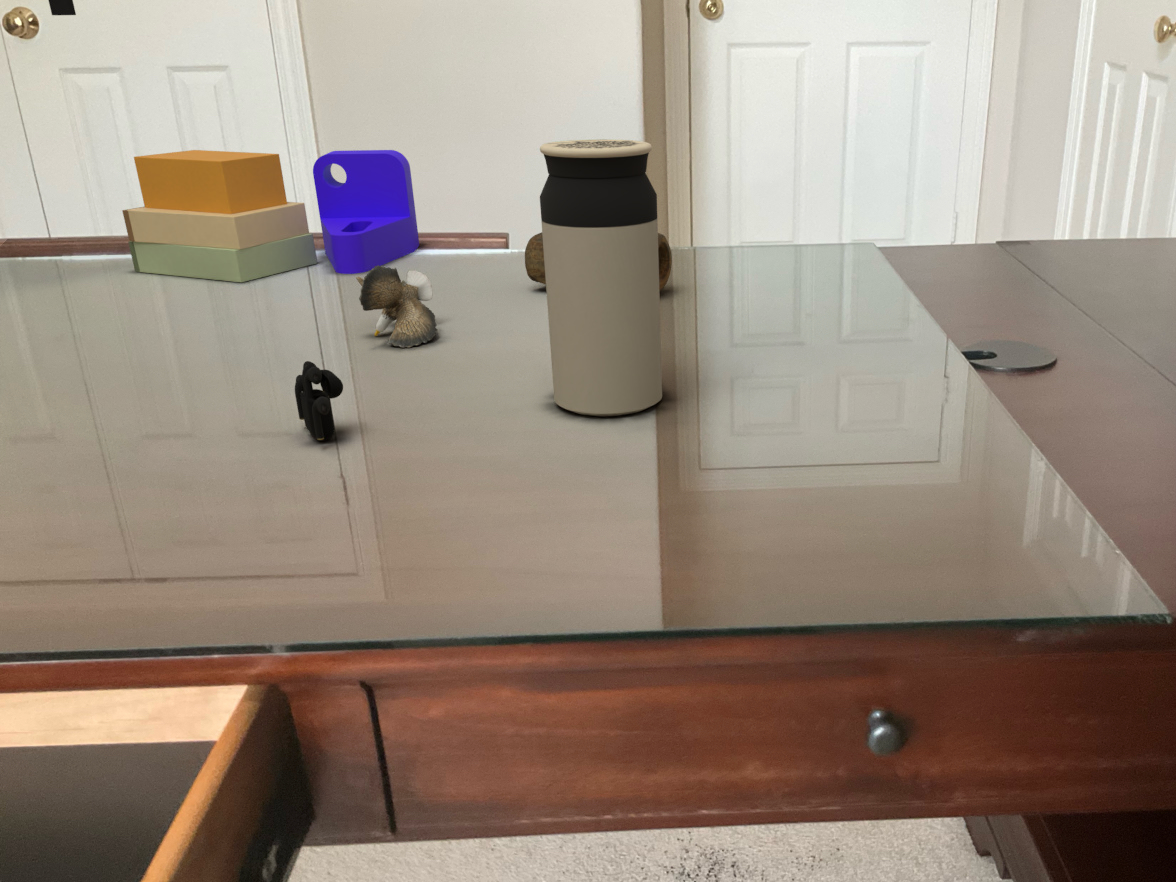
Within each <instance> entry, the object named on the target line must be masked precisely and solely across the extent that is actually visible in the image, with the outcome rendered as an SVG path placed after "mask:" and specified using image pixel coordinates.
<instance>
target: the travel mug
mask: <svg viewBox="0 0 1176 882" xmlns="http://www.w3.org/2000/svg"><path fill="white" fill-rule="evenodd" d="M652 146H653V145H652V144H651V143H649V142H646V141H643V140H633V139H631V140H630V139H605V138H603V139H601V138H600V139H598V138H597V139H573V140H560V141H551V142H546V143H543V144H541V145H540V147H539V151H540V153H541V154H542V155H543V157H544V160H545V164H546V169H547V174H548V176H547V178H546V180H545V183H544V185H543V188H542V190H541V191H540V195H539V205H540V206H539V207H540V221H541V222H540V223H541V232H542V236H543V250H544V263H545V277H546V285H545V290H546V302H547V303H546V305H547V317H548V318H547V319H548V330H549V332H548V333H549V344H550V345H549V346H550V360H551V373H552V385H553V386H552V387H553V401H554V402H555V404H556V405H557V406H559V407H561V408H562V409H565V410H566V411H569V412H572V413H576V414H579V415H584V416H593V417H617V416H624V415H630V414H636V413H639V412H643V411H645V410H646V409H648V408H651V407H652V406H654V405H656V404H657V403H659V402H660V401H661V400H662V398H663V372H662V371H663V370H662V369H663V368H662V337H661V336H662V334H661V333H662V332H661V330H662V329H661V301H660V300H661V298H660V297H661V296H660V291H659V257H658V233H659V229H658V227H659V226H658V225H659V224H658V221H659V220H658V195H657V192H656V190H655V188H654V186H653V185H652V182H651V180H650V179H649V176H648V175H647V167H648V158H649V154H650V153H651V152H652V150H653V147H652Z"/></svg>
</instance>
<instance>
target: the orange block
mask: <svg viewBox="0 0 1176 882" xmlns="http://www.w3.org/2000/svg"><path fill="white" fill-rule="evenodd" d="M280 157H281V156H280V154H279V153H268V152H267V153H266V152H265V153H264V152H246V151H245V152H244V151H223V150H222V151H221V150H206V149H205V150H203V149H202V150H201V149H191V150H182V151H181V150H180V151H173V152H165V153H164V152H163V153H156V154H145V155H138V156H133V161H134V165H135V170H136V175H137V178H138V182H139V187H140V191H141V197H142V200H143V205H144V206H143V207H145V208H156V209H169V210H182V211H196V212H209V213H223V214H234V213H240V212H246V211H251V210H257V209H262V208H268V207H273V206H279V205H284V204H287V202H288V200H287V194H286V188H285V182H284V181H285V180H284V176H283V170H282V164H281V158H280Z"/></svg>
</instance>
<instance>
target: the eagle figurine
mask: <svg viewBox="0 0 1176 882" xmlns="http://www.w3.org/2000/svg"><path fill="white" fill-rule="evenodd" d="M355 279H356V281H357V282H358V283H359V284H360V286H361V288H360V295H359V298H358V299H359V302H360V305H361V306H362V310H363V311H366V312H368V311H369V312H370V311H373V310H374V311H375V310H382V311H381V314H380V316H379V317H378V321H377V322H376V325H375V331H374V334H373V336H374V337H377V336H378V335H379V334H381V333H383V332H385V331H386V330H387V328H388V326H390V324H392V322H394V321H395V324H394V329H393V331H392V333H391V335H390V336H389V338H388V341H387V343H388V344H392V345H393V346H394V347H399V348H402V349H405V348H412V347H414V346H420V345H421V344H422V343H423V344H427V343H428V341H432V340H433V338H434V337H435V336H436V334H437V330H438V329H437V323H436V315H435V314H434V312H433V311H432V310H431V309H430V308H429V307H427V306H426V305H425V304H423V303H422V301H423V302H428V301H431V300H432V299H433V294H434V293H433V285H432V283H431V281H430V278H429V277H428V276H426V274H424V273H422V272H420V271H417V270H415V269H409V270H408V271H407V273H406V276H405V280H401V278H400V275H399V272H398V269H397V267H394V268H393V267H385V266H382V265H381V266H375V267H374V268H372V270H369V271H368V272H366V275H365V276H364V277H363V278H362V277H360V276H356V277H355Z"/></svg>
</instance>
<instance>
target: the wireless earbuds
mask: <svg viewBox="0 0 1176 882" xmlns="http://www.w3.org/2000/svg"><path fill="white" fill-rule="evenodd" d="M313 385H316V386H317V385H320V387H321V389H318V388H314V387H313ZM343 391H344V384H343V382H342V380H341V379H340V378H339V376H337V375H336V374H335V373H334V372H333V371H331V370H329V369H321V368H319V366H317V365H316V364H315V363H314V362H312V361H309V360H306V361H305V362H303V365H302V373H301V374H298V375H297V376H296V377H295V383H294V396H295V402H296V407H297V412H298V419H299V420H300V421H304V425H305V428H306V429H307V431H308V432H309V433H310V434H311V435H312V436H313V438H315V440H318V441H321V442H325V441H329V440H330V439H332V438H333V436H334V435H335V431H336V429H335V422H334V415H333V409H332V403H331V399H336V398H338V397H340V396H341V395H342V394H343Z"/></svg>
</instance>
